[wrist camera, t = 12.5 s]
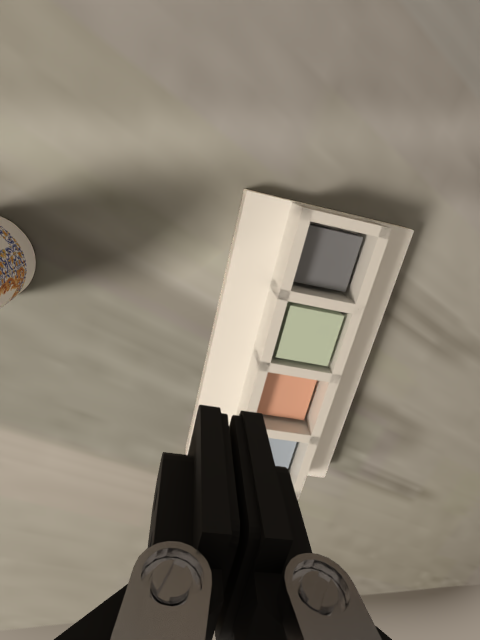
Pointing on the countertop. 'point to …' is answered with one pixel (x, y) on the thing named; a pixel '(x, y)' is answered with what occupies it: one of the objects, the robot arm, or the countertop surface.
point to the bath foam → (14, 261)
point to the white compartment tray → (268, 311)
